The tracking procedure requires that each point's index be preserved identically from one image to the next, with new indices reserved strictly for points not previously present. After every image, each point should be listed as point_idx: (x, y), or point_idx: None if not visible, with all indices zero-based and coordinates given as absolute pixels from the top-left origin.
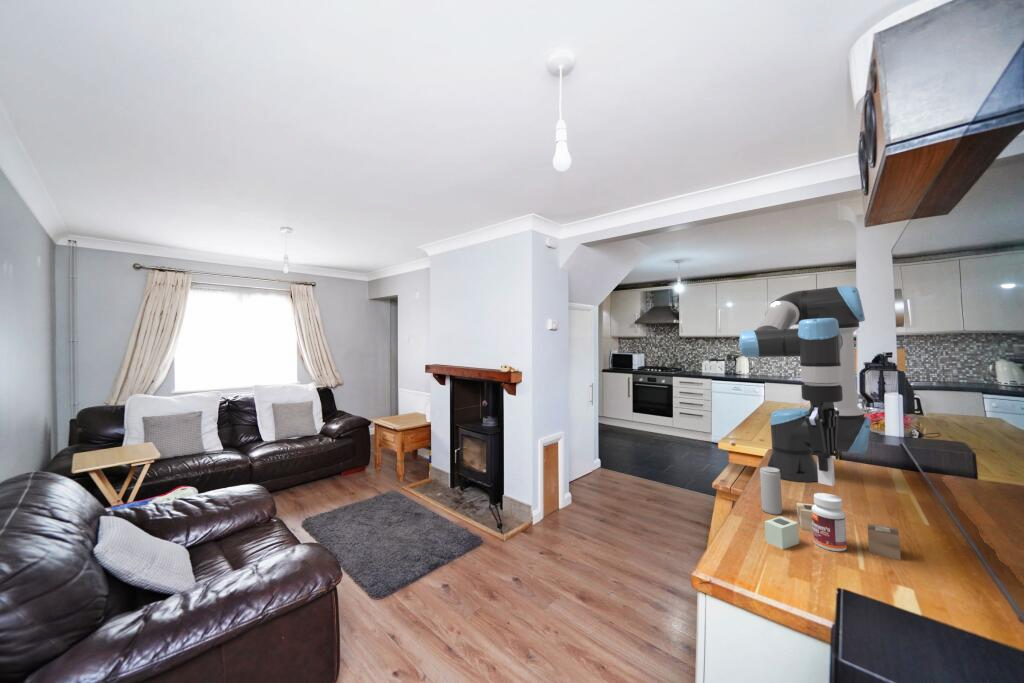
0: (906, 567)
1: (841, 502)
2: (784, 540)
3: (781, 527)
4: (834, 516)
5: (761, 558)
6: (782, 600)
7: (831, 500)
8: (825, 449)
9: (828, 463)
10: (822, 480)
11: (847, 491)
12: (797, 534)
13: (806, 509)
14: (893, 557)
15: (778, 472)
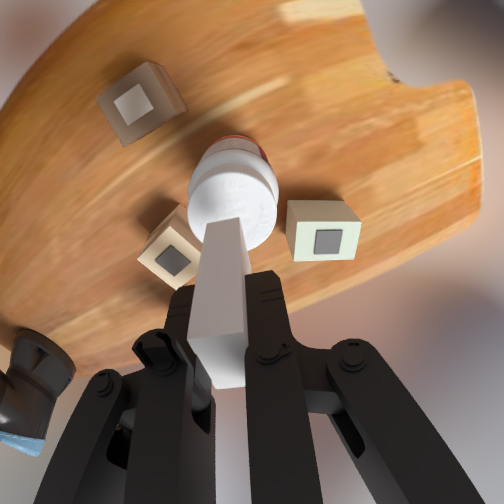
0: (188, 45)
1: (220, 170)
2: (342, 208)
3: (357, 224)
4: (263, 161)
5: (403, 201)
6: (474, 126)
7: (256, 189)
8: (371, 399)
9: (246, 307)
10: (248, 261)
11: (9, 291)
12: (295, 209)
13: (191, 259)
14: (168, 75)
15: None
